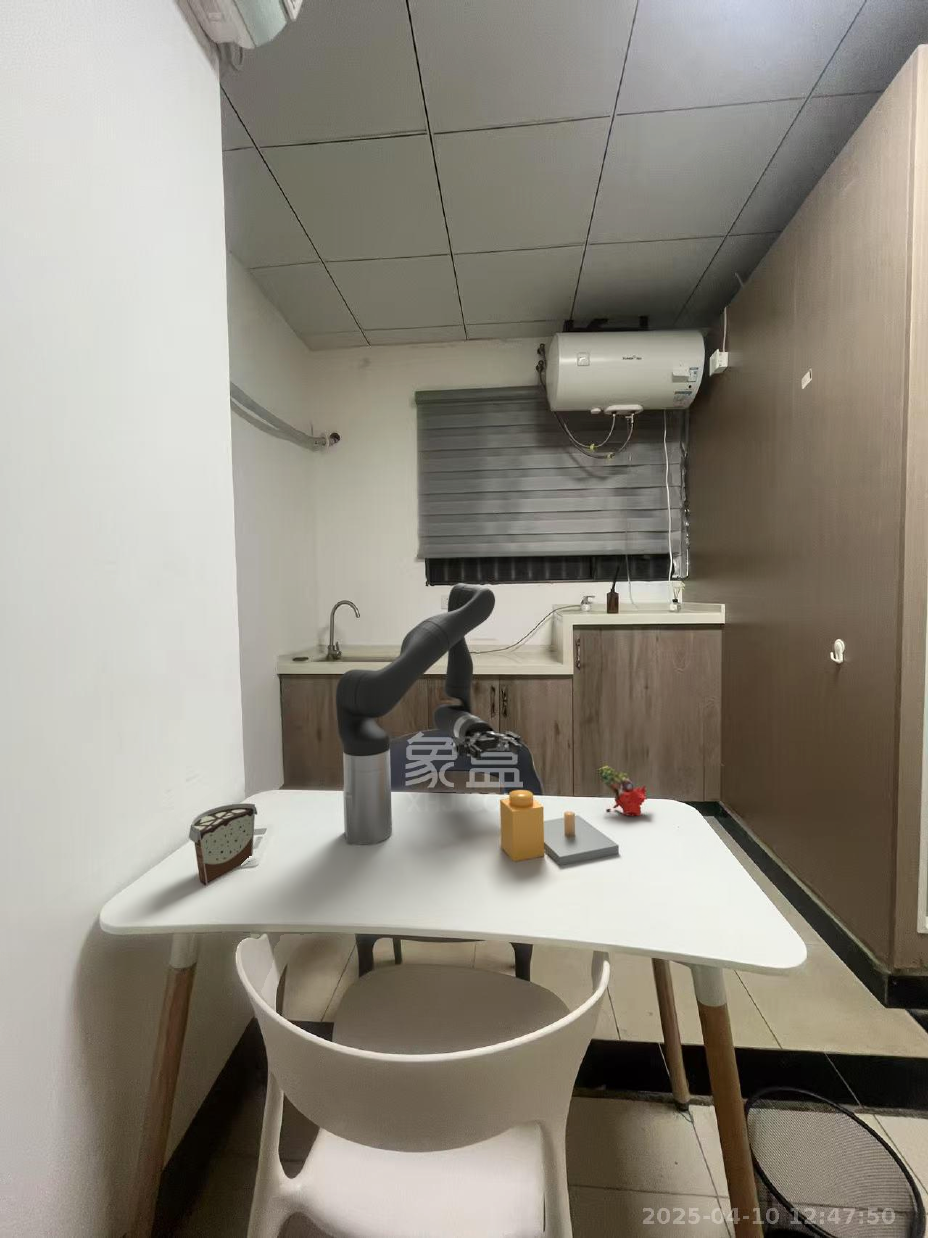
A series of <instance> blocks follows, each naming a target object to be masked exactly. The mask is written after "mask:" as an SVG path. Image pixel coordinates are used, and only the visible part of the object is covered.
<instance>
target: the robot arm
mask: <svg viewBox="0 0 928 1238" xmlns="http://www.w3.org/2000/svg"><path fill="white" fill-rule="evenodd" d="M495 605H496V595H495V594H494V592H493V590H491V589H490V588H487V587H485V586H482V585H474V584H468V583H462V582H460V583H457V584H454V585H453V587H452V588H451V589H450V592H449V595H448V601H447V612H444V613H440V614H437V615H433V616H431V617H428V618H426V619H424V620H422V621H421V622H419V623H418V624H417V625H416V626H415V627H413V628H412V629H411V630H410V631H408V633H407V634H406V635H405V636H404V637H403V640H402V642H401V646H400V651H399V655H398V656H397V657H396V658H395V659H393V661H391V662H390V663H389V664H387V665H386V666H383V667H382V668H381V669H378V670H373V669H372V670H371V669H358V668H357V669H356V668H355V669H350V670H347V671H346V672H344V673H343V674H342V675H341V677H340V678H339V680H338V682H337V686H336V691H335V707H336V709H335V711H336V721H337V732H338V735H339V739H340V741H341V744H342V755H343V757H342V758H343V759H342V760H343V762H342V763H343V786H342V787H343V790H342V791H343V795H342V797H343V820H344V821H343V824H344V825H343V827H344V830H343V831H344V835H345V841H346V845H348V844H349V845H350V844H357V845H371V844H377V843H379V842H380V843H381V842H382V841H384V840H387V839H388V838H389V837H391V835H392V834H393V818H392V785H391V783H392V782H391V780H392V779H391V778H392V777H391V776H392V775H391V749H390V748H391V747H390V746H391V745H390V744H391V741H390V740H391V739H390V735H389V733H387V732H386V731H385V730H384V729H383V728H381V727H380V726H379V725H378V723H377V722H376V720H375V718H381V717H384V716H386V715H388V714H389V713H390V712H391V711H392V710H393V709H394V708H395V707H396V706H397V705H398V703H399V702H400V701H401V700H402V699H403V697H404V696H405V695H406V694H407V692H408V691H409V690H410V689H411V687H413V685H414V684H416V682H417V681H418V680H419V679H421V677H422V676H423V675H424V674H425V673H427V671H428V670H429V669H430V668H432V666H433V665H434V664H436V663H437V662H438V661H439V660H440V659H442V658H443V656H445V655H446V654H448V655H447V667H446V674H445V681H444V682H445V683H444V689H443V690H444V691H443V692H444V694H445V695H446V696H447V697H450V698H453V699H457V700H458V701H459V704H440V705H439V706H437V707H436V708H435V710H434V712H433V717H432V720H433V724H434V726H435V728H436V730H437V731H439V732H440V733H442V734H445V735H448V736H451V737H453V738H452V741H453V742H452V743H453V745H452V746H453V747H452V749H453V751H454V752H455V754H457V755H458V756H459V757H464V756H465V754H467V757H471V758H472V759H475V760H477V761H480V760H481V758H482V754H485V753H486V752H488V751H493V750H494V751H499V752H503V751H505V750H507V751H509V752H511V753H512V754H514V755H516V756H517V755H520V753H521V749H522V747H521V746H522V745H521V736H520V735H518V734H516V733H514V732H512V731H509V730H507V731H504V733H505V734H503V733H498V732H497V733H496V731H495V730H494V728H493V727H492V726H491V725H490V724H489V723H488V722H486V721H485V720H483V719H482V718H479V716H477V715H474V713H473V708H472V706H473V705H472V698H471V697H472V696H471V695H472V693H471V689H472V683H473V682H472V681H473V676H474V675H473V674H474V662H473V659H472V656H471V652H470V649H469V647H468V644H467V640H466V637H465V636H466V635H467V634H469V633H470V632H471V631H473V630H474V629H476V628H477V627H478V626H481V625H482V624H483V623H484V622H486V621H487V620H488V619H489V617H490V616H491V615H492V613H493V611H494V609H495Z"/></svg>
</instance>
